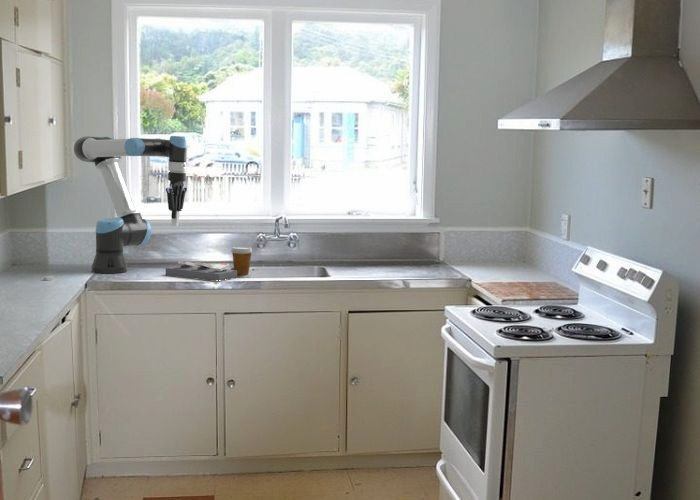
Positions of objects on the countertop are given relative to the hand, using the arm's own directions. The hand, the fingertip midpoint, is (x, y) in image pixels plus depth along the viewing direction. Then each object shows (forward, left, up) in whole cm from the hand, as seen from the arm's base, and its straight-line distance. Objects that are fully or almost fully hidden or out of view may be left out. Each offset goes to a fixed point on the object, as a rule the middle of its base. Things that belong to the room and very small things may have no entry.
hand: (174, 225), depth 370 cm
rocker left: (+2, +6, -17) cm, 18 cm away
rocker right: (+20, +6, -17) cm, 27 cm away
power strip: (+12, +4, -22) cm, 25 cm away
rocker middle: (+11, +6, -17) cm, 21 cm away
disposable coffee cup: (+21, +21, -22) cm, 37 cm away
